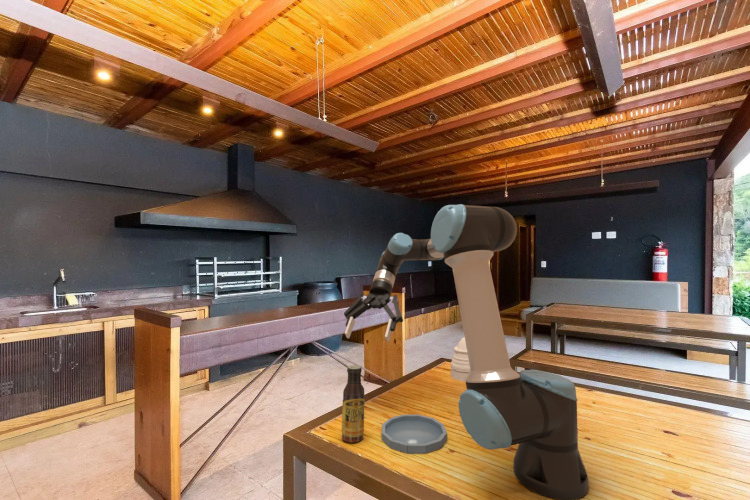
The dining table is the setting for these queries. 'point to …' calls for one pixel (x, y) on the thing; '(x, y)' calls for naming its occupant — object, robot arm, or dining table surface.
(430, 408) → the dining table surface
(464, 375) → the honey pot
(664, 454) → the dining table surface
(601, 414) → the dining table surface
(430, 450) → the serving plate
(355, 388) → the sauce bottle
